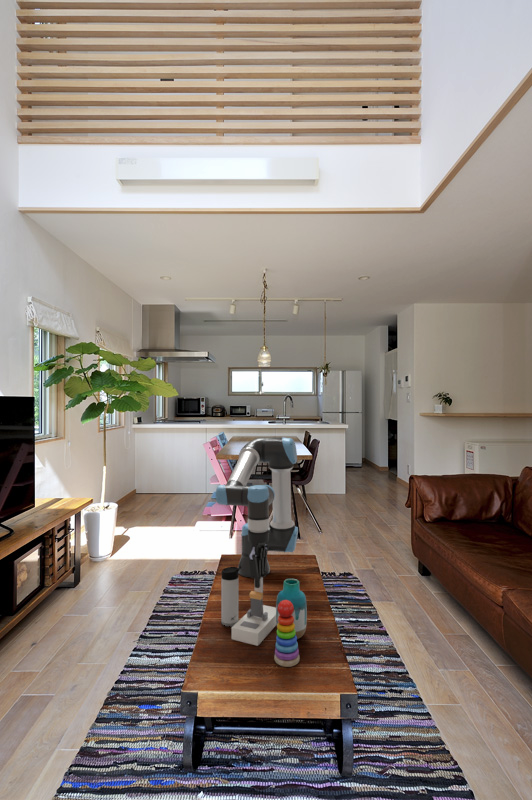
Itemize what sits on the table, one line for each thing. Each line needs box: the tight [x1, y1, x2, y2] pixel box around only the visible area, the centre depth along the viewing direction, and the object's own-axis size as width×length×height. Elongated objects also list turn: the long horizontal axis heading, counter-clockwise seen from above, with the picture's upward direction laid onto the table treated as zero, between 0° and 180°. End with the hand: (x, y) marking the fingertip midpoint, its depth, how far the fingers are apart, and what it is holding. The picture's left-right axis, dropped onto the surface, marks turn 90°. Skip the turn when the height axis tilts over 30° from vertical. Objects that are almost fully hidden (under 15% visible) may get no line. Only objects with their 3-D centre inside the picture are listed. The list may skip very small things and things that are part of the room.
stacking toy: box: [273, 600, 301, 668], centre depth 143 cm, size 8×8×19 cm
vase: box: [275, 578, 308, 640], centre depth 157 cm, size 11×11×19 cm
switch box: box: [231, 604, 277, 647], centre depth 162 cm, size 20×10×6 cm, turn 155°
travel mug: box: [220, 566, 240, 627], centre depth 167 cm, size 6×7×20 cm
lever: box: [248, 590, 264, 618], centre depth 162 cm, size 2×4×9 cm, turn 65°
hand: (258, 595), depth 163 cm, fingers closed
